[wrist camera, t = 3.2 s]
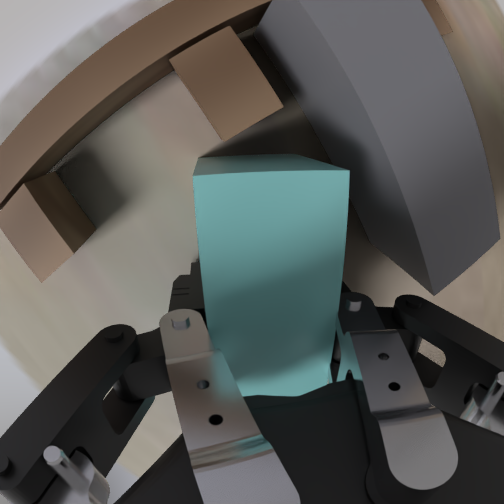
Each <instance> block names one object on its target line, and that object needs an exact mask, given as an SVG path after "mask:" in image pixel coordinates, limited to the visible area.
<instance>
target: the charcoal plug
mask: <svg viewBox="0 0 504 504" xmlns="http://www.w3.org/2000/svg"><path fill="white" fill-rule="evenodd" d="M253 35H254V36H255V38H256V39H257V41H258V42H259V44H260V45H261V46H262V48H263V49H264V51H265V52H266V54H267V55H268V57H269V58H270V60H271V61H272V63H273V64H274V66H275V67H276V69H277V70H278V72H279V73H280V75H281V76H282V78H283V79H284V81H285V83H286V84H287V86H288V87H289V89H290V91H291V92H292V94H293V95H294V97H295V99H296V100H297V102H298V104H299V105H300V107H301V109H302V110H303V112H304V114H305V115H306V117H307V119H308V121H309V122H310V124H311V126H312V127H313V129H314V131H315V133H316V135H317V136H318V138H319V140H320V142H321V144H322V145H323V147H324V149H325V151H326V153H327V155H328V156H329V158H330V160H331V162H332V164H333V165H334V166H337V167H340V168H343V169H346V170H349V171H350V176H349V198H350V200H351V202H352V204H353V206H354V208H355V210H356V212H357V214H358V216H359V219H360V221H361V223H362V225H363V227H364V230H365V232H366V234H367V236H368V239H369V241H370V243H371V244H373V245H374V246H375V247H376V248H378V249H379V250H380V251H381V252H383V253H384V254H385V255H386V256H388V257H389V258H390V259H391V260H392V261H394V262H395V263H396V264H397V265H398V266H400V267H401V268H402V269H403V270H404V271H406V272H407V273H408V274H409V275H410V276H412V277H413V278H414V279H415V280H416V281H417V282H419V283H420V284H421V285H422V286H423V287H424V288H425V289H427V290H428V291H429V292H430V293H431V294H432V295H433V296H435V295H436V294H437V293H438V292H440V291H441V290H442V289H444V288H445V287H446V286H447V285H448V284H450V283H451V282H452V281H453V280H455V279H456V278H457V277H458V276H459V275H461V274H462V273H463V272H464V271H465V270H466V269H468V268H469V267H470V266H471V265H472V264H473V263H474V262H476V261H477V260H478V259H479V258H480V257H481V256H482V255H483V254H485V253H486V252H487V251H488V250H489V249H490V248H491V247H492V246H493V245H494V244H495V243H496V242H497V241H498V240H499V239H500V232H499V223H498V216H497V209H496V203H495V197H494V192H493V186H492V181H491V177H490V172H489V167H488V163H487V159H486V155H485V151H484V147H483V144H482V140H481V136H480V133H479V130H478V126H477V123H476V120H475V117H474V114H473V111H472V108H471V105H470V102H469V99H468V97H467V94H466V91H465V89H464V86H463V83H462V81H461V78H460V76H459V74H458V71H457V69H456V67H455V64H454V62H453V60H452V58H451V55H450V53H449V51H448V49H447V47H446V45H445V43H444V41H443V39H442V37H441V35H440V33H439V31H438V29H437V27H436V25H435V23H434V22H433V20H432V18H431V16H430V14H429V13H428V11H427V9H426V7H425V6H424V4H423V2H422V1H421V0H272V2H271V4H270V5H269V7H268V9H267V11H266V12H265V14H264V16H263V18H262V19H261V21H260V23H259V25H258V27H257V28H256V30H255V32H254V34H253Z"/></svg>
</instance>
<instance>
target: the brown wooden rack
mask: <svg viewBox="0 0 504 504" xmlns="http://www.w3.org/2000/svg"><path fill="white" fill-rule="evenodd" d="M421 1H422V2H423V4H424V6H425V7H426V9H427V11H428V13H429V14H430V16H431V18H432V20H433V22H434V23H435V25H436V27H437V29H438V31H439V33H440V35H441V36H442V35H445V34H448V33H451V32H453V31H452V29H451V27H450V25H449V23H448V21H447V19H446V17H445V16H444V14H443V12H442V10H441V8H440V7H439V5H438V3H437V1H436V0H421ZM271 2H272V0H174V1H172V2H170V3H168V4H166V5H165V6H163V7H161V8H159V9H158V10H156V11H154V12H153V13H151V14H149V15H148V16H146V17H145V18H143V19H141V20H140V21H138V22H137V23H135V24H134V25H132V26H131V27H129V28H128V29H126V30H125V31H123V32H122V33H121V34H119V35H118V36H116V37H115V38H113V39H112V40H111V41H109V42H108V43H107V44H105V45H104V46H103V47H101V48H100V49H99V50H97V51H96V52H95V53H94V54H92V55H91V56H90V57H89V58H87V59H86V60H85V61H84V62H82V63H81V64H80V65H79V66H78V67H77V68H75V69H74V70H73V71H72V72H71V73H70V74H68V75H67V76H66V77H65V78H64V79H63V80H62V81H61V82H60V83H58V84H57V85H56V86H55V87H54V88H53V89H52V90H51V91H50V92H49V93H48V94H47V95H46V96H45V97H44V98H43V99H42V100H41V101H40V102H39V103H38V104H37V105H36V106H35V107H34V108H33V109H32V110H31V111H30V112H29V113H28V114H27V116H26V117H25V118H24V119H23V120H22V121H21V122H20V123H19V124H18V126H17V127H16V128H15V129H14V130H13V131H12V132H11V134H10V135H9V136H8V137H7V138H6V140H5V141H4V142H3V143H2V145H1V146H0V210H1V209H2V210H1V211H0V228H1V229H2V231H3V232H4V234H5V235H6V237H7V238H8V240H9V241H10V242H11V244H12V245H13V247H14V248H15V249H16V251H17V252H18V253H19V255H20V256H21V257H22V259H23V260H24V261H25V263H26V264H27V265H28V267H29V268H30V269H31V270H32V272H33V273H34V274H35V275H36V277H37V278H38V279H39V280H40V282H41V283H42V282H43V281H44V280H45V279H46V278H47V277H49V276H50V275H51V274H52V273H53V272H54V271H55V270H56V269H57V268H58V267H60V266H61V265H62V264H63V263H64V262H65V261H66V260H67V259H68V258H70V257H71V256H72V255H73V254H74V253H75V252H76V251H77V250H78V249H79V248H80V247H81V245H82V244H83V243H84V242H85V241H86V240H87V239H88V238H89V237H90V236H91V235H92V234H93V233H94V232H95V231H96V228H95V226H94V225H93V224H92V222H91V221H90V220H89V218H88V217H87V216H86V214H85V213H84V212H83V210H82V209H81V207H80V206H79V205H78V203H77V202H76V201H75V199H74V198H73V196H72V195H71V193H70V192H69V191H68V189H67V188H66V186H65V185H64V183H63V182H62V181H61V179H60V178H59V176H58V175H57V173H56V172H55V171H54V172H51V173H49V174H46V173H47V172H48V171H49V170H50V169H51V168H52V167H53V166H54V165H55V164H56V163H57V162H58V161H59V160H60V159H62V158H63V157H64V156H65V155H66V154H67V153H68V152H69V151H70V150H71V149H72V148H73V147H74V146H75V145H76V144H78V143H79V142H80V141H81V140H82V139H83V138H84V137H85V136H87V135H88V134H89V133H90V132H91V131H92V130H94V129H95V128H96V127H97V126H98V125H99V124H101V123H102V122H103V121H104V120H106V119H107V118H108V117H109V116H110V115H112V114H113V113H114V112H116V111H117V110H118V109H119V108H121V107H122V106H123V105H125V104H126V103H127V102H129V101H130V100H131V99H133V98H134V97H135V96H137V95H138V94H139V93H141V92H142V91H144V90H145V89H146V88H148V87H149V86H151V85H152V84H154V83H155V82H157V81H158V80H159V79H161V78H162V77H164V76H165V75H167V74H169V73H170V72H172V71H173V70H175V71H176V73H177V75H178V76H179V77H180V79H181V80H182V82H183V83H184V85H185V86H186V88H187V89H188V90H189V92H190V93H191V95H192V96H193V98H194V99H195V101H196V102H197V104H198V105H199V107H200V108H201V110H202V111H203V113H204V114H205V116H206V117H207V119H208V120H209V122H210V123H211V125H212V126H213V128H214V129H215V131H216V132H217V134H218V135H219V137H220V138H221V139H222V140H223V141H224V142H225V141H227V140H229V139H230V138H232V137H233V136H235V135H237V134H238V133H240V132H242V131H243V130H245V129H247V128H248V127H250V126H252V125H253V124H255V123H257V122H258V121H260V120H262V119H264V118H265V117H267V116H269V115H270V114H272V113H274V112H276V111H278V110H279V109H281V108H283V107H284V106H283V105H282V103H281V102H280V100H279V98H278V97H277V95H276V93H275V92H274V90H273V89H272V87H271V86H270V84H269V82H268V81H267V79H266V78H265V76H264V75H263V73H262V72H261V70H260V69H259V67H258V66H257V64H256V63H255V61H254V60H253V58H252V57H251V55H250V54H249V52H248V51H247V49H246V48H245V46H244V45H243V44H242V42H241V41H240V39H239V38H238V37H237V35H236V34H238V33H240V32H242V31H244V30H247V29H249V28H251V27H253V26H255V25H257V24H259V23H260V21H261V19H262V18H263V16H264V14H265V12H266V11H267V9H268V7H269V5H270V4H271ZM45 174H46V175H45Z"/></svg>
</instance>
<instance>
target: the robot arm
mask: <svg viewBox="0 0 504 504" xmlns="http://www.w3.org/2000/svg"><path fill="white" fill-rule="evenodd" d="M159 326H160V327H159V328H157V329H155V330H153V331H150V332H146V333H143V334H139V335H137V334H136V331H135V330H134V328H132V327H131V326H128V325H124V324H117V325H112V326H109V327H106V328H104V329H103V330H101V331H100V332H99V333H98V334H97V335H96V336H95V337H94V338H93V339H92V340H91V341H90V342H89V343H88V344H87V345H86V346H85V347H84V348H83V349H82V350H81V351H80V352H79V353H78V354H77V355H76V356H75V357H74V358H73V359H72V360H71V361H70V362H69V363H68V364H67V365H66V366H65V367H64V368H63V370H62V371H61V372H60V373H59V374H58V375H57V376H56V377H55V378H54V379H53V380H52V381H51V382H50V383H49V384H48V385H47V386H46V388H45V389H44V390H43V391H42V392H41V393H40V394H39V395H38V396H37V397H36V398H35V399H34V401H33V402H32V403H31V404H30V405H29V406H28V407H27V408H26V409H25V411H24V412H23V413H22V414H21V415H20V416H19V417H18V418H17V419H16V421H15V422H14V423H13V424H12V425H11V426H10V427H9V429H8V430H7V431H6V432H5V433H4V434H3V435H2V437H1V438H0V494H1V495H3V496H4V497H5V498H6V499H7V500H8V501H9V502H10V503H11V504H107V501H108V498H109V494H110V488H109V484H108V482H107V480H106V479H105V478H106V476H107V475H108V473H109V471H110V470H111V468H112V467H113V465H114V464H115V462H116V460H117V459H118V457H119V456H120V454H121V452H122V451H123V449H124V448H125V446H126V444H127V443H128V441H129V440H130V438H131V436H132V435H133V433H134V432H135V430H136V429H137V427H138V425H139V424H140V422H141V421H142V419H143V417H144V416H145V414H146V413H147V411H148V409H149V408H150V406H151V405H152V403H153V401H154V399H155V396H156V395H159V394H163V393H166V392H170V391H172V393H173V397H174V401H175V405H176V409H177V413H178V417H179V421H180V424H181V428H182V432H183V433H182V434H181V435H180V436H179V437H178V438H177V439H176V441H175V442H174V443H173V444H172V445H171V446H170V447H169V448H168V449H167V450H166V451H165V452H164V453H163V454H162V456H161V457H160V458H159V459H158V460H157V461H156V462H155V463H154V464H153V465H152V466H151V467H150V468H149V469H148V470H147V471H146V472H145V473H144V474H143V475H142V476H141V477H140V478H139V479H138V480H137V481H136V482H135V483H134V484H133V485H132V486H131V488H129V489H128V490H127V491H126V492H125V493H124V494H123V495H122V496H121V497H120V498H119V499H118V500H117V501H116V502H115V503H114V504H504V342H502V341H501V340H499V339H497V338H495V337H494V336H492V335H490V334H488V333H486V332H485V331H483V330H481V329H479V328H477V327H476V326H474V325H472V324H470V323H468V322H466V321H465V320H463V319H461V318H459V317H457V316H455V315H454V314H452V313H450V312H448V311H446V310H444V309H442V308H441V307H439V306H437V305H435V304H433V303H431V302H429V301H427V300H426V299H424V298H422V297H419V296H416V295H401V296H399V297H397V298H396V300H395V304H394V307H376V306H375V305H374V303H373V301H372V300H371V299H370V298H369V297H368V296H366V295H364V294H361V293H357V292H351V290H350V289H349V288H348V287H347V286H346V284H345V283H344V282H343V281H342V285H341V294H340V302H339V310H338V312H337V314H336V322H335V327H336V332H335V339H334V345H333V352H332V358H331V363H329V368H328V379H329V384H327V385H325V386H322V387H320V388H317V389H315V390H313V391H310V392H308V393H305V394H303V395H300V396H271V395H252V396H242V394H241V392H240V390H239V388H238V386H237V384H236V381H235V379H234V377H233V375H232V373H231V371H230V369H229V366H228V364H227V362H226V360H225V358H224V355H223V353H222V351H221V350H220V348H218V349H215V347H214V345H213V342H212V340H211V338H210V335H209V333H208V328H207V320H206V312H205V303H204V295H203V286H202V277H201V267H200V262H195V263H191V274H190V275H180V276H179V277H178V278H177V279H176V280H175V281H174V282H173V287H172V293H171V299H170V305H169V311H168V313H167V314H165V315H164V316H163V317H162V318H161V319H160V322H159ZM422 338H423V339H425V340H426V341H428V342H430V343H431V344H433V345H434V346H436V347H438V348H439V349H441V350H442V351H443V352H444V354H445V356H446V362H445V364H444V367H443V368H442V367H441V366H439V365H438V364H436V363H435V362H433V361H432V360H430V359H429V358H427V357H425V356H424V355H422V354H421V353H419V352H418V349H419V347H420V344H421V341H422ZM112 386H113V388H112V390H111V391H110V392H109V394H108V395H107V396H106V397H105V395H106V394H107V393H108V391H109V390H110V389H111V387H112ZM104 397H105V399H104ZM103 399H104V400H103ZM431 404H432V405H433V406H432V405H431ZM434 406H435V407H434Z"/></svg>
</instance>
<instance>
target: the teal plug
mask: <svg viewBox="0 0 504 504" xmlns="http://www.w3.org/2000/svg"><path fill="white" fill-rule="evenodd" d="M349 176H350V171H349V170H346V169H343V168H340V167H337V166H334V165H331V164H327V163H324V162H321V161H318V160H314V159H311V158H307V157H304V156H301V155H297V154H261V155H236V156H218V157H203V158H198V161H197V164H196V167H195V170H194V173H193V188H194V201H195V214H196V225H197V237H198V247H199V258H200V267H201V277H202V286H203V295H204V303H205V312H206V320H207V328H208V333H209V335H210V338H211V340H212V342H213V345H214V347H215V349H218V348H220V350H221V351H222V353H223V355H224V358H225V360H226V362H227V364H228V366H229V369H230V371H231V373H232V375H233V377H234V379H235V381H236V384H237V386H238V388H239V390H240V392H241V394H242V396H252V395H271V396H300V395H303V394H305V393H308V392H310V391H313V390H315V389H317V388H320V387H322V386H325V385H327V381H328V368H329V363H331V358H332V352H333V345H334V339H335V332H336V327H335V322H336V314H337V312H338V310H339V302H340V294H341V285H342V276H343V266H344V255H345V244H346V231H347V216H348V199H349Z"/></svg>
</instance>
